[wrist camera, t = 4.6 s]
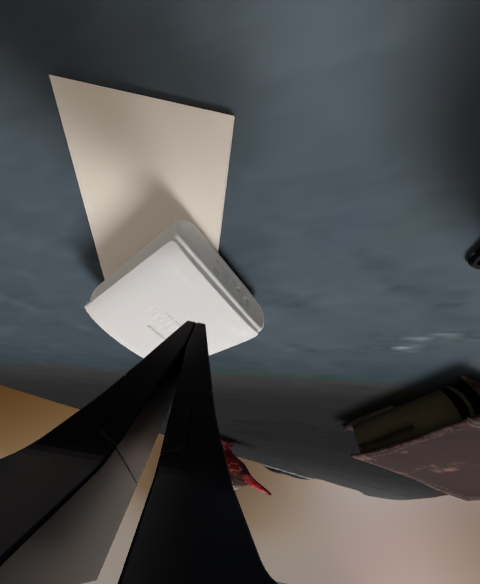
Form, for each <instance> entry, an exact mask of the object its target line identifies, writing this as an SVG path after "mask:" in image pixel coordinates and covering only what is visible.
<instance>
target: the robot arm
mask: <svg viewBox="0 0 480 584" xmlns="http://www.w3.org/2000/svg"><path fill="white" fill-rule="evenodd" d="M478 261H479V262H478ZM468 264H469V265H470V266H472V267H473V268H476V269H480V249H479V250H478V251H477V252H476V253H475V254H474V255H473V256H472V257H471V258H470V259H469V261H468ZM172 401H173V403H172ZM171 403H172V407H171V412H170V416H169V420H168V424H167V428H166V432H165V436H164V441H163V445H162V449H161V455H160V457H159V461H158V465H157V469H156V473H155V476H154V479H153V482H152V486H151V488H150V491H149V494H148V497H147V500H146V503H145V506H144V509H143V511H142V515H141V517H140V520H139V523H138V526H137V529H136V532H135V535H134V538H133V541H132V543H131V547H130V549H129V552H128V555H127V558H126V561H125V564H124V567H123V570H122V573H121V575H120V579H119V581H118V584H285V583H280V582H276V581H275V580H273V579H272V578H271V577H270V575H269V574H268V572H267V571H266V570H265V568H264V566H263V564H262V562H261V560H260V557H259V554H258V552H257V549H256V546H255V544H254V541H253V538H252V536H251V533H250V531H249V528H248V525H247V523H246V520H245V518H244V515H243V512H242V510H241V507H240V504H239V502H238V499H237V496H236V494H235V491H234V488H233V484H232V481H231V478H230V474H229V470H228V466H227V462H226V458H225V454H224V449H223V445H222V441H221V437H220V433H219V428H218V424H217V419H216V414H215V407H214V399H213V392H212V381H211V372H210V362H209V353H208V343H207V334H206V325H205V324H203V323H198V322H197V323H196V322H193V321H186V322H185V323H184V324H183V325H182V326H180V327H179V328H178V329H177V330H176V331H175V332H173V333H172V334H171V335H170V336H169V337H168V338H166V339H165V340H164V341H163V342H162V343H161V344H160V345H158V346H157V347H156V348H155V349H154V350H153V351H151V352H150V353H149V354H148V355H147V356H146V357H145V358H143V359H142V360H141V361H140V362H139V363H138V364H136V365H135V366H134V367H133V368H132V369H131V370H129V371H128V372H127V373H126V375H124V376H122V377H121V378H120V379H119V380H118V381H117V382H115V383H114V384H113V385H112V386H111V387H109V388H108V389H107V390H106V391H105V392H103V393H102V394H101V395H99V396H98V397H97V398H95V399H94V400H93V401H91V402H90V403H89V404H87V405H86V406H85V407H83V408H82V409H81V410H79V411H78V412H76V413H75V414H74V415H72V416H71V417H70V418H68V419H67V420H65V421H64V422H63V423H61V424H60V425H59V426H57V427H56V428H54V429H53V430H52V431H50V432H49V433H47V434H46V435H45V436H43V437H42V438H40V439H39V440H37V441H36V442H34V443H32V444H30V445H29V446H27V447H25V448H23V449H21V450H19V451H17V452H16V453H13V454H11V455H9V456H6V457H4V458H2V459H0V584H82V583H86V582H91V581H95V580H97V578H98V575H99V573H100V570H101V568H102V566H103V564H104V561H105V559H106V557H107V554H108V552H109V550H110V547H111V545H112V542H113V540H114V538H115V535H116V533H117V531H118V528H119V526H120V524H121V521H122V519H123V517H124V514H125V512H126V510H127V507H128V505H129V502H130V500H131V498H132V495H133V493H134V491H135V488H136V486H137V483H138V481H139V479H140V476H141V474H142V471H143V469H144V467H145V465H146V462H147V460H148V458H149V455H150V453H151V450H152V448H153V446H154V443H155V441H156V439H157V436H158V434H159V432H160V429H161V427H162V425H163V422H164V420H165V417H166V415H167V413H168V410H169V408H170V406H171Z"/></svg>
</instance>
